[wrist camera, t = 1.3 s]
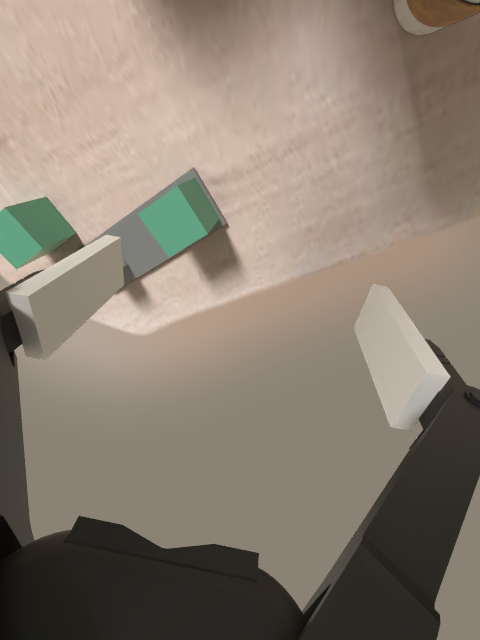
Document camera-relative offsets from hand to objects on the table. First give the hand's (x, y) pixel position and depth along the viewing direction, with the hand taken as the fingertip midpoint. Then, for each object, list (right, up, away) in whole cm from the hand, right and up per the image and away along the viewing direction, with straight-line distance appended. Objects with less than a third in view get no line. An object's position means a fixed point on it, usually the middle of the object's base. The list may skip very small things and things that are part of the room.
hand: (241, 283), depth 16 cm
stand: (-12, +9, +23) cm, 27 cm away
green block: (-25, +11, +24) cm, 36 cm away
